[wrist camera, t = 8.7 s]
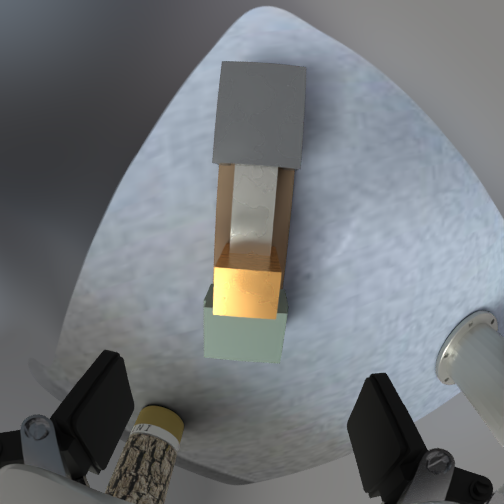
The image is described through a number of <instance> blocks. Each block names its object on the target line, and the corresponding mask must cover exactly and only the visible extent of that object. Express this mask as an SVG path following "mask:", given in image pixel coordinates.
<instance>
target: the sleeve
mask: <svg viewBox="0 0 504 504" xmlns="http://www.w3.org/2000/svg"><path fill="white" fill-rule="evenodd" d="M305 89H306V67H300V66H292V65H283V64H272V63H258V62H233V61H222V66H221V74H220V83H219V92H218V102H217V113H216V123H215V135H214V147H213V161H212V163H215V164H218V165H221V166H230V165H231V164H239V165H254V166H267V167H278V168H283V170H289V171H294V170H298V169H300V168H301V155H302V141H303V126H304V109H305Z"/></svg>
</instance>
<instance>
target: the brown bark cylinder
mask: <svg viewBox="0 0 504 504" xmlns="http://www.w3.org/2000/svg"><path fill="white" fill-rule="evenodd" d="M183 430H184V424H183V422H182V420H181V418H180V417H179V416H178V415H177V414H176V413H174V412H173V411H171V410H169V409H167V408H164V407H160V406H147V407H145V408H143V409H142V410H141V412H140V414H139V416H138V418H137V420H136V422H135V425H134V427H133V429H132V431H131V433H130V435H129V438H128V440H127V442H126V444H125V447H124V449H123V451H122V454H121V456H120V458H119V460H118V463H117V465H116V467H115V470H114V472H113V475H112V477H111V480H110V482H109V484H108V486H107V489H106V491H105V494H108V495H110V496H113V497H116V498H119V499H122V500H125V501H128V502H131V503H134V504H164V502H165V498H166V494H167V490H168V486H169V483H170V479H171V475H172V471H173V467H174V464H175V460H176V456H177V453H178V449H179V444H180V441H181V437H182V433H183Z"/></svg>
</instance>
